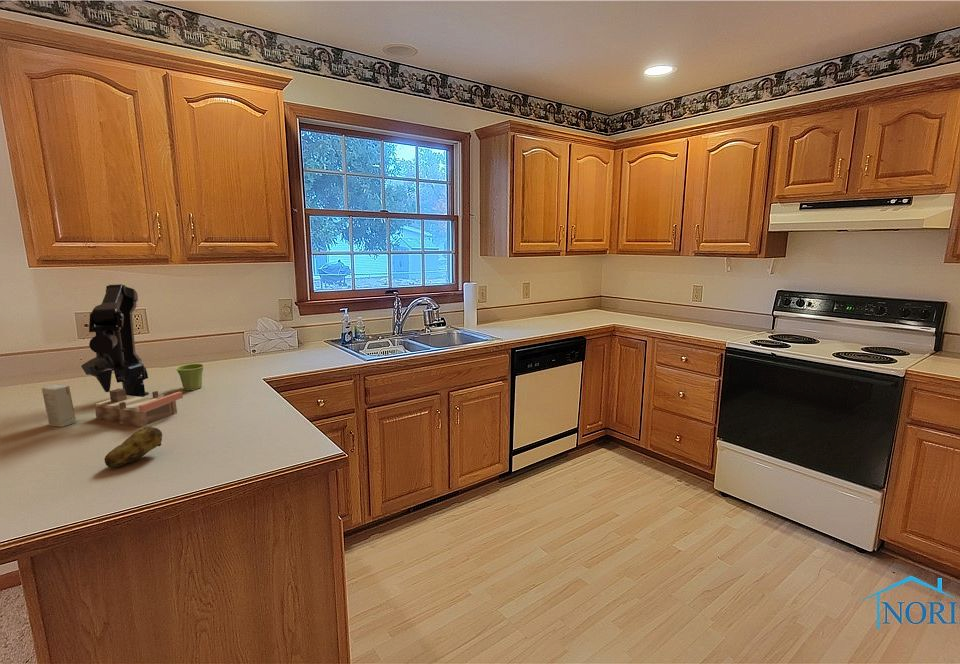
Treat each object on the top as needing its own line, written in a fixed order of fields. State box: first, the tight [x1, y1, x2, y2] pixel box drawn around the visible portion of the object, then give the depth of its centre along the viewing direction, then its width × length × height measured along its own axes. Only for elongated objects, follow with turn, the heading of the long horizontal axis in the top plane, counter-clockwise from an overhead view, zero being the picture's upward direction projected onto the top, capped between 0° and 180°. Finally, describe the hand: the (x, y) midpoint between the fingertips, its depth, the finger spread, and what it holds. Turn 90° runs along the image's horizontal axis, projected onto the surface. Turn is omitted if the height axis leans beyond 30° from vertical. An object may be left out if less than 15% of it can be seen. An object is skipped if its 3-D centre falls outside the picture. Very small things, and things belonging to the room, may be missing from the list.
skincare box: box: [41, 384, 77, 428], centre depth 148 cm, size 6×4×12 cm
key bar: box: [139, 391, 183, 412], centre depth 151 cm, size 2×14×2 cm, turn 165°
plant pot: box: [175, 363, 205, 391], centre depth 184 cm, size 9×9×9 cm
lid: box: [95, 387, 169, 412], centre depth 154 cm, size 20×9×4 cm, turn 75°
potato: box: [104, 426, 163, 468], centre depth 124 cm, size 8×13×8 cm, turn 131°
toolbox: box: [94, 390, 178, 428], centre depth 155 cm, size 20×12×7 cm, turn 75°
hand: (118, 393), depth 156 cm, fingers open, 9 cm apart
